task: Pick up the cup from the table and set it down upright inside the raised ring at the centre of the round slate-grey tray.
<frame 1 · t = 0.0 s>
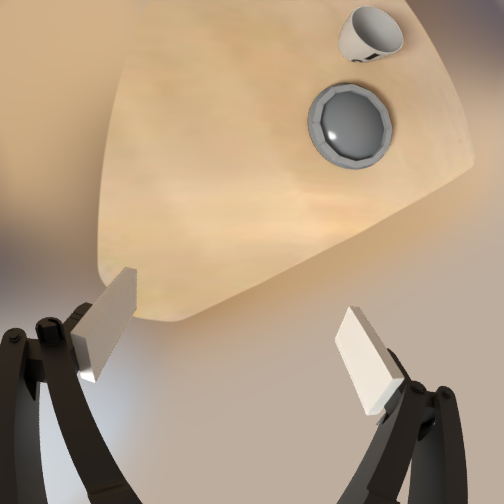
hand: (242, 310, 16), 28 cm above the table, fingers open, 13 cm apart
cup: (351, 49, 33), on the table
tray: (350, 126, 38), on the table
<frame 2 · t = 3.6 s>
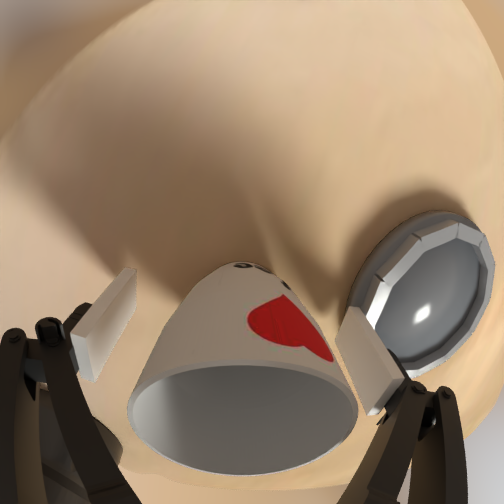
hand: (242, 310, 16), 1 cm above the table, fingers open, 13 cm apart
cup: (240, 297, 17), on the table
tray: (424, 298, 18), on the table
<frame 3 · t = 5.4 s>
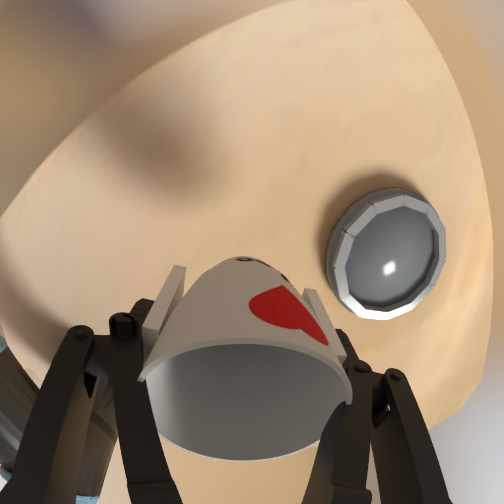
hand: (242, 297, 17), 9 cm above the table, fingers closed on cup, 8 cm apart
cup: (242, 290, 18), point 8 cm above the table, touching gripper
tray: (387, 254, 26), on the table
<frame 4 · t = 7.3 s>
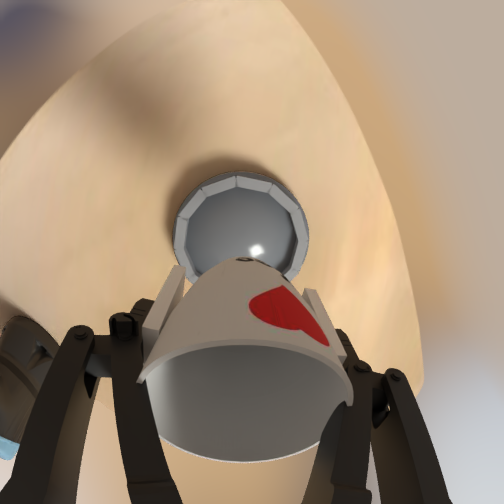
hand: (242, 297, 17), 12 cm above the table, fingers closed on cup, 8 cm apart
cup: (242, 291, 18), point 12 cm above the table, touching gripper
tray: (240, 238, 29), on the table
when the fingers open (3 cm above the table, at t = 9.7 s): cup stays where it is, resting on tray.
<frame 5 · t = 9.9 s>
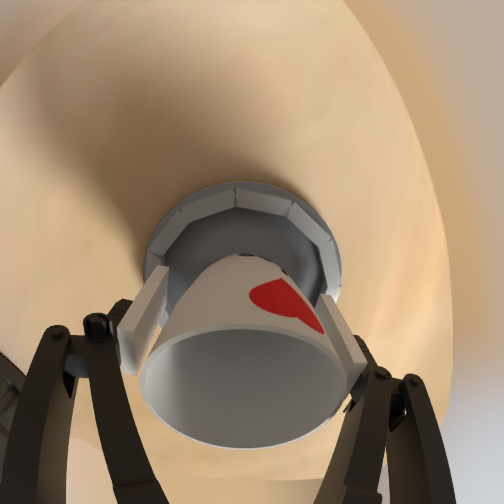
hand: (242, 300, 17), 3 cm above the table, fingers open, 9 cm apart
cup: (243, 285, 19), point 1 cm above the table, touching tray
tray: (242, 278, 20), on the table
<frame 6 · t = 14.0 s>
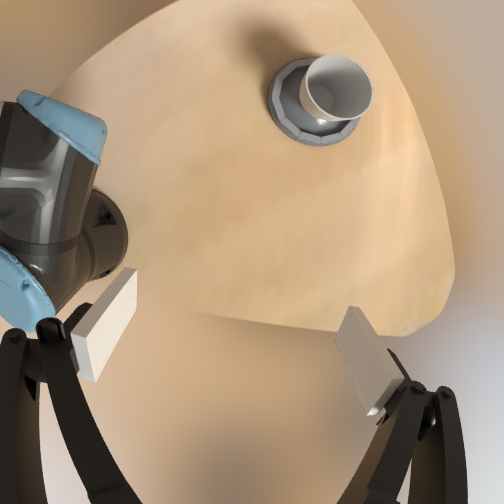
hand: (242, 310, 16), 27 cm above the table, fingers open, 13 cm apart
cup: (317, 100, 34), point 1 cm above the table, touching tray
tray: (315, 101, 35), on the table
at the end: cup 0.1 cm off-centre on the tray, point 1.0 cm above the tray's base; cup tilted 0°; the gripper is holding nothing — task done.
